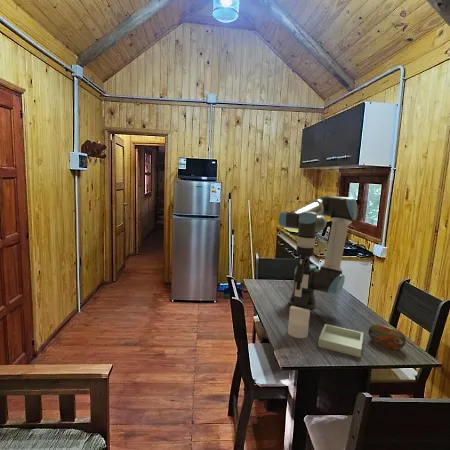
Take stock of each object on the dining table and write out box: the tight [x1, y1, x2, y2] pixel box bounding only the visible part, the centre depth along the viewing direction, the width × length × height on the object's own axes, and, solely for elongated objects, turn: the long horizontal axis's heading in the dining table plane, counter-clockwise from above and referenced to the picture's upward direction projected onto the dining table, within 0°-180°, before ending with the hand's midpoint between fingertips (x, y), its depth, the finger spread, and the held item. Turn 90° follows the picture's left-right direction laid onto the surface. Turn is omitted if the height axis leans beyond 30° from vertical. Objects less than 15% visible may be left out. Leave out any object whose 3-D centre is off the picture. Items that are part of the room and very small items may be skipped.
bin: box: [317, 323, 364, 358], centre depth 143 cm, size 17×17×4 cm
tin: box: [367, 323, 407, 351], centre depth 143 cm, size 15×3×8 cm, turn 45°
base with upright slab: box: [287, 305, 311, 339], centre depth 149 cm, size 9×9×12 cm
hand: (301, 292), depth 147 cm, fingers open, 13 cm apart
